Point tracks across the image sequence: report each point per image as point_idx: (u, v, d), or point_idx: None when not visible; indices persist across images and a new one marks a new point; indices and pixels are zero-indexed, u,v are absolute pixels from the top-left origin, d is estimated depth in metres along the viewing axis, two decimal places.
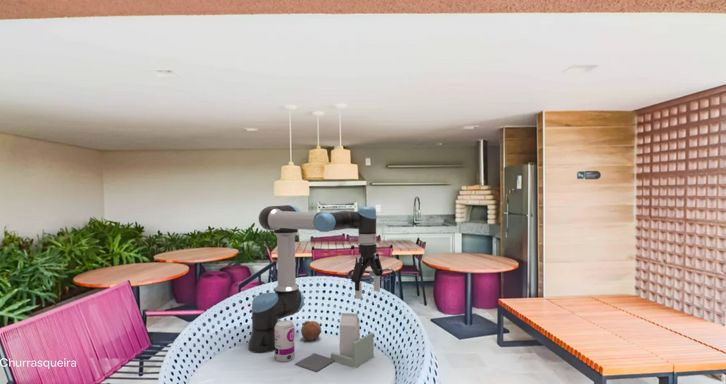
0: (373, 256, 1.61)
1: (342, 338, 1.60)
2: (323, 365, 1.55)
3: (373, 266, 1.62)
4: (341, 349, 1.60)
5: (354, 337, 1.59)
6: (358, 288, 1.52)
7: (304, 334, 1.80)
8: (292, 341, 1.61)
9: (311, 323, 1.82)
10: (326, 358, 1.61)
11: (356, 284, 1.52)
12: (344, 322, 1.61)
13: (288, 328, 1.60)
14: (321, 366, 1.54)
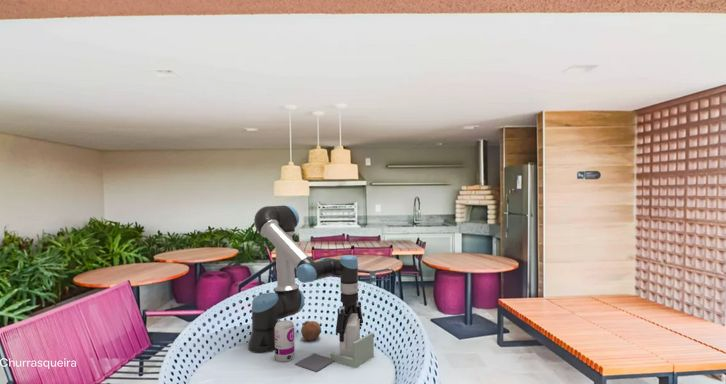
0: (355, 303, 1.65)
1: None
2: (323, 365, 1.55)
3: None
4: (341, 349, 1.60)
5: (354, 337, 1.59)
6: (342, 339, 1.58)
7: (304, 334, 1.80)
8: (292, 341, 1.61)
9: (311, 323, 1.82)
10: (326, 358, 1.61)
11: (340, 335, 1.58)
12: None
13: (288, 328, 1.60)
14: (321, 366, 1.54)
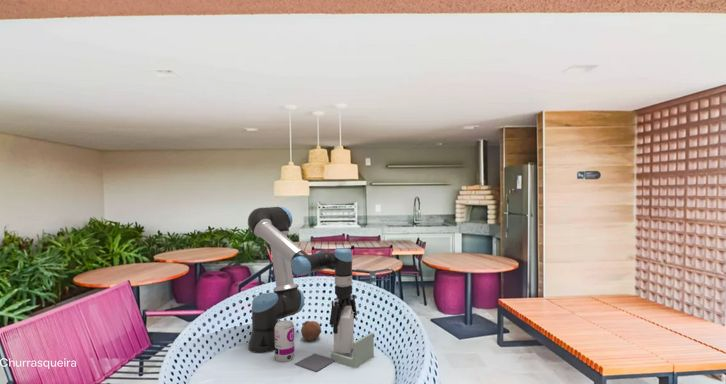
0: (349, 296, 1.66)
1: None
2: (323, 365, 1.55)
3: None
4: (335, 341, 1.62)
5: (348, 329, 1.61)
6: (336, 331, 1.60)
7: (304, 334, 1.80)
8: (292, 341, 1.61)
9: (311, 323, 1.82)
10: (326, 358, 1.61)
11: (334, 327, 1.59)
12: None
13: (288, 328, 1.60)
14: (321, 366, 1.54)
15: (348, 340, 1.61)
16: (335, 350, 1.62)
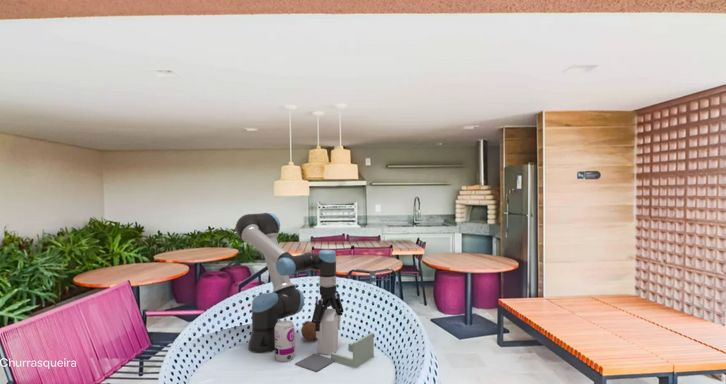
0: (333, 296, 1.71)
1: None
2: (323, 365, 1.55)
3: (333, 306, 1.72)
4: (319, 343, 1.67)
5: (331, 331, 1.66)
6: (318, 329, 1.63)
7: (304, 334, 1.80)
8: (292, 341, 1.61)
9: (311, 323, 1.82)
10: (326, 358, 1.61)
11: (316, 325, 1.63)
12: None
13: (288, 328, 1.60)
14: (321, 366, 1.54)
15: (332, 342, 1.66)
16: (319, 352, 1.67)
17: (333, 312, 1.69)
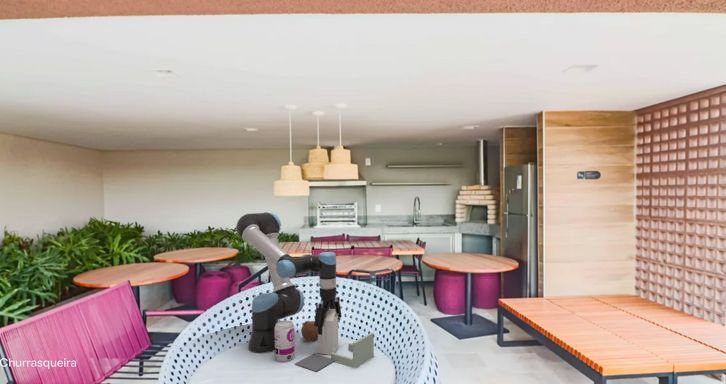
0: (333, 298, 1.71)
1: None
2: (323, 365, 1.55)
3: None
4: (319, 343, 1.67)
5: (331, 331, 1.66)
6: (321, 332, 1.65)
7: (304, 334, 1.80)
8: (292, 341, 1.61)
9: (311, 323, 1.82)
10: (326, 358, 1.61)
11: (319, 328, 1.65)
12: None
13: (288, 328, 1.60)
14: (321, 366, 1.54)
15: (332, 342, 1.66)
16: (319, 352, 1.67)
17: (333, 312, 1.69)
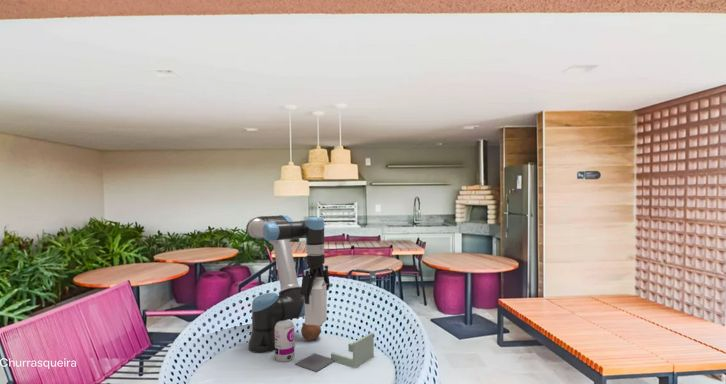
0: (321, 266, 1.61)
1: None
2: (323, 365, 1.55)
3: None
4: (306, 313, 1.56)
5: (319, 300, 1.55)
6: (308, 301, 1.54)
7: (304, 334, 1.80)
8: (292, 341, 1.61)
9: None
10: (326, 358, 1.61)
11: (306, 297, 1.54)
12: None
13: (288, 328, 1.60)
14: (321, 366, 1.54)
15: (319, 312, 1.55)
16: (306, 322, 1.56)
17: (321, 280, 1.58)
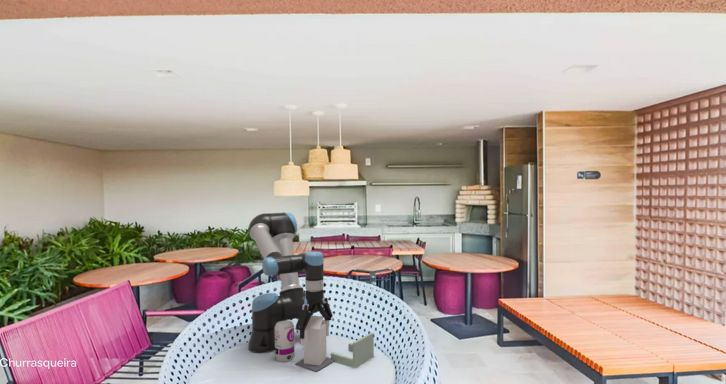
0: (321, 301, 1.60)
1: None
2: (323, 365, 1.55)
3: (321, 311, 1.61)
4: (305, 352, 1.56)
5: (317, 340, 1.54)
6: (303, 336, 1.51)
7: None
8: (292, 341, 1.61)
9: None
10: (326, 358, 1.61)
11: (301, 332, 1.51)
12: (308, 325, 1.56)
13: (288, 328, 1.60)
14: (321, 366, 1.54)
15: (318, 352, 1.54)
16: (305, 362, 1.56)
17: (320, 320, 1.57)
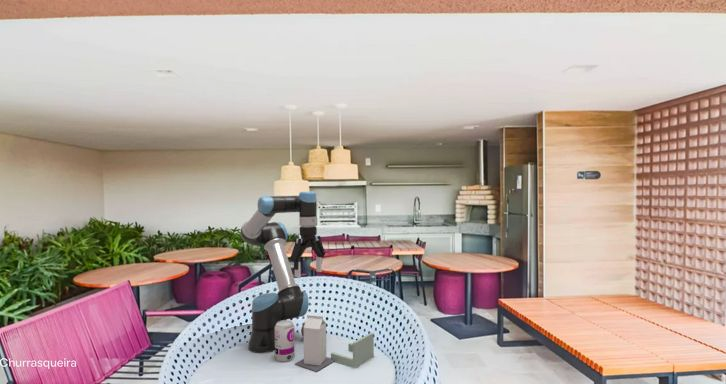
0: (314, 238, 1.70)
1: (306, 341, 1.56)
2: (323, 365, 1.55)
3: (314, 247, 1.71)
4: (305, 352, 1.56)
5: (317, 340, 1.54)
6: (297, 267, 1.62)
7: None
8: (292, 341, 1.61)
9: None
10: (326, 358, 1.61)
11: (295, 263, 1.61)
12: (308, 325, 1.56)
13: (288, 328, 1.60)
14: (321, 366, 1.54)
15: (318, 352, 1.54)
16: (305, 362, 1.56)
17: (320, 320, 1.57)
